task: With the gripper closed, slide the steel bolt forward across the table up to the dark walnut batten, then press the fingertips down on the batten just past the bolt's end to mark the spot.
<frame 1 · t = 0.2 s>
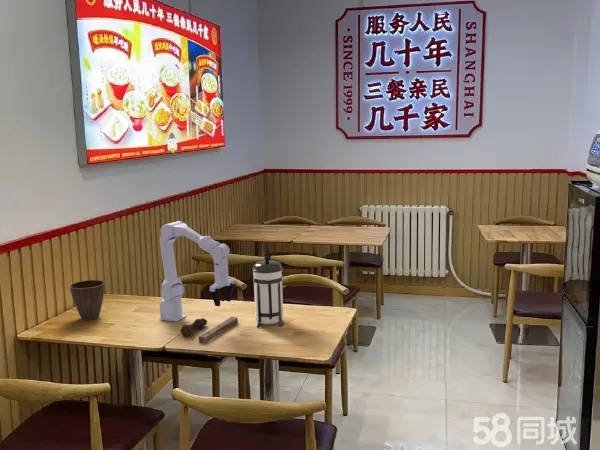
hand: (222, 303, 251), 10 cm above the table, tool pointing down, fingers open, 7 cm apart
bolt: (195, 332, 247), on the table
plant pot: (90, 318, 268), on the table
batten: (219, 332, 244), on the table
coffee press: (270, 324, 252), on the table
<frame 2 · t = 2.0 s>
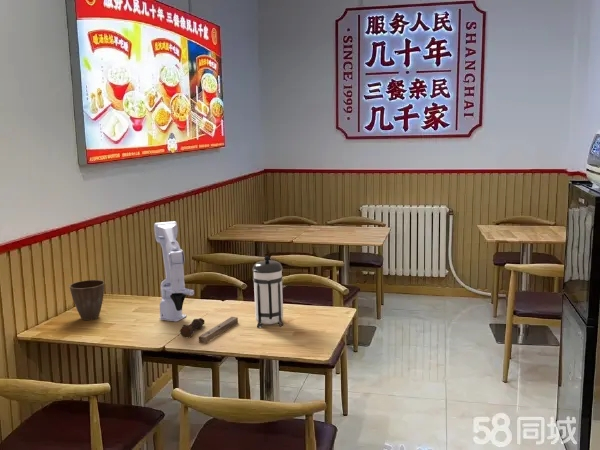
hand: (179, 310, 248), 8 cm above the table, tool pointing down, fingers closed
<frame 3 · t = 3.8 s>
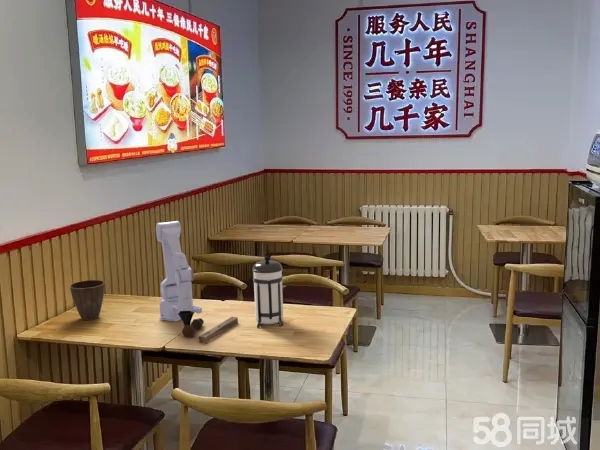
hand: (187, 327, 248), 1 cm above the table, tool pointing down, fingers closed
bolt: (195, 332, 246), on the table, touching gripper
everything else where it was.
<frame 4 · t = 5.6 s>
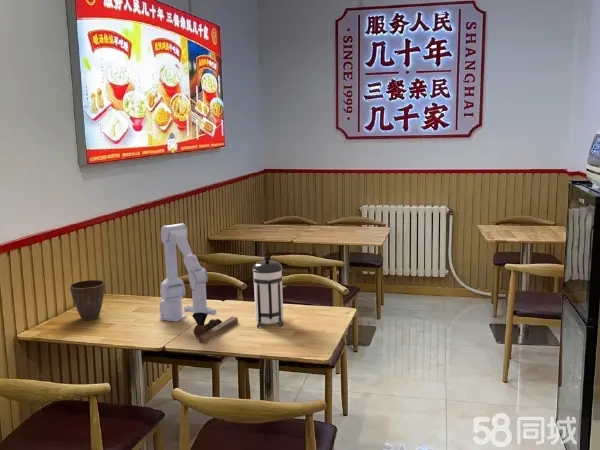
hand: (201, 329, 246), 1 cm above the table, tool pointing down, fingers closed
bolt: (209, 332, 245), on the table, touching batten, gripper
everything else where it was.
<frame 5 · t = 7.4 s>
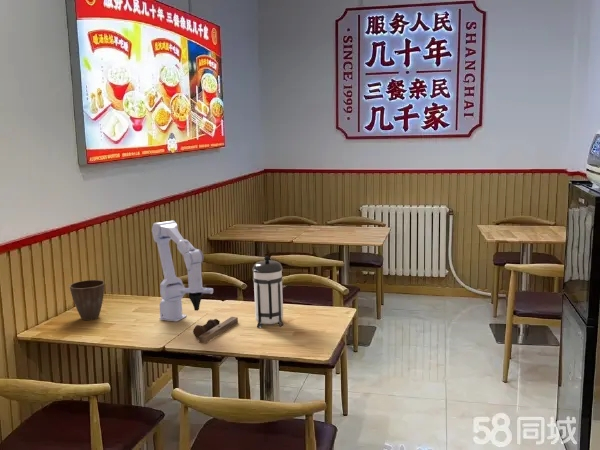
hand: (196, 309, 248), 8 cm above the table, tool pointing down, fingers closed
bolt: (208, 332, 245), on the table
everything else where it was.
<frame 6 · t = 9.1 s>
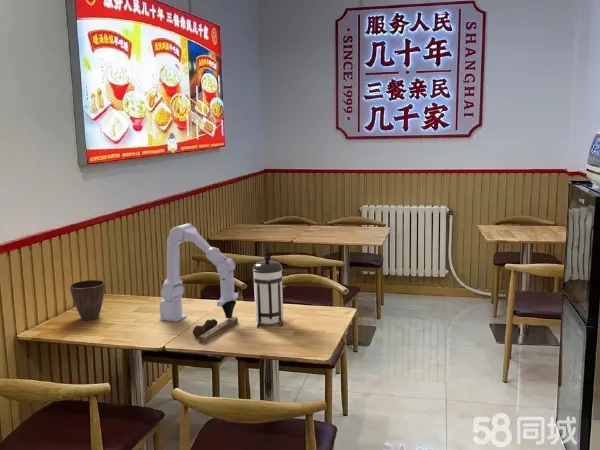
hand: (228, 317, 252), 3 cm above the table, tool pointing down, fingers closed
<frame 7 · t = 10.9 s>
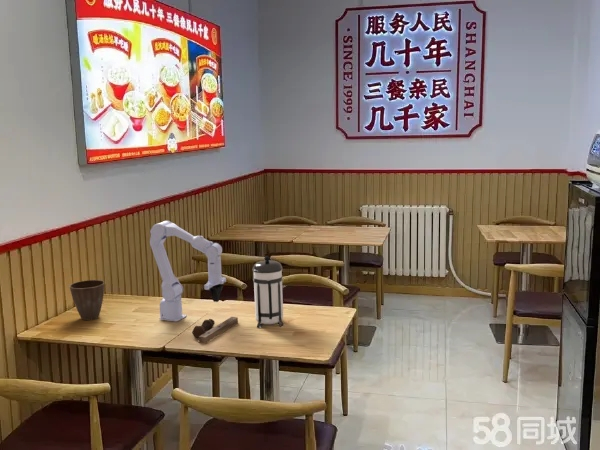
hand: (216, 301, 258), 9 cm above the table, tool pointing down, fingers closed
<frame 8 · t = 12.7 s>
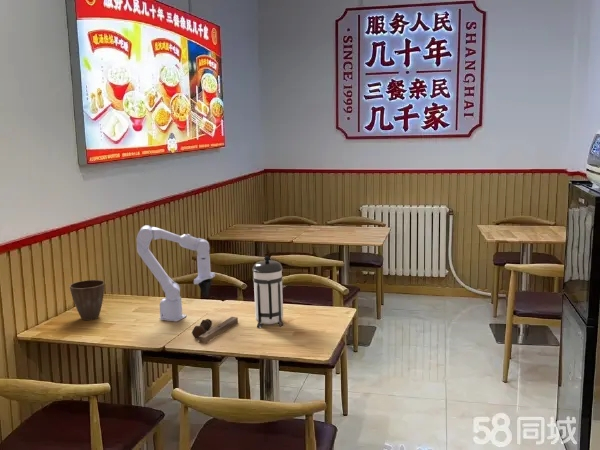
hand: (205, 295, 265), 9 cm above the table, tool pointing down, fingers closed
at the end: bolt inside the target area (0.9 cm from its centre), on the table; bolt moved 3.8 cm from its start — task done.
